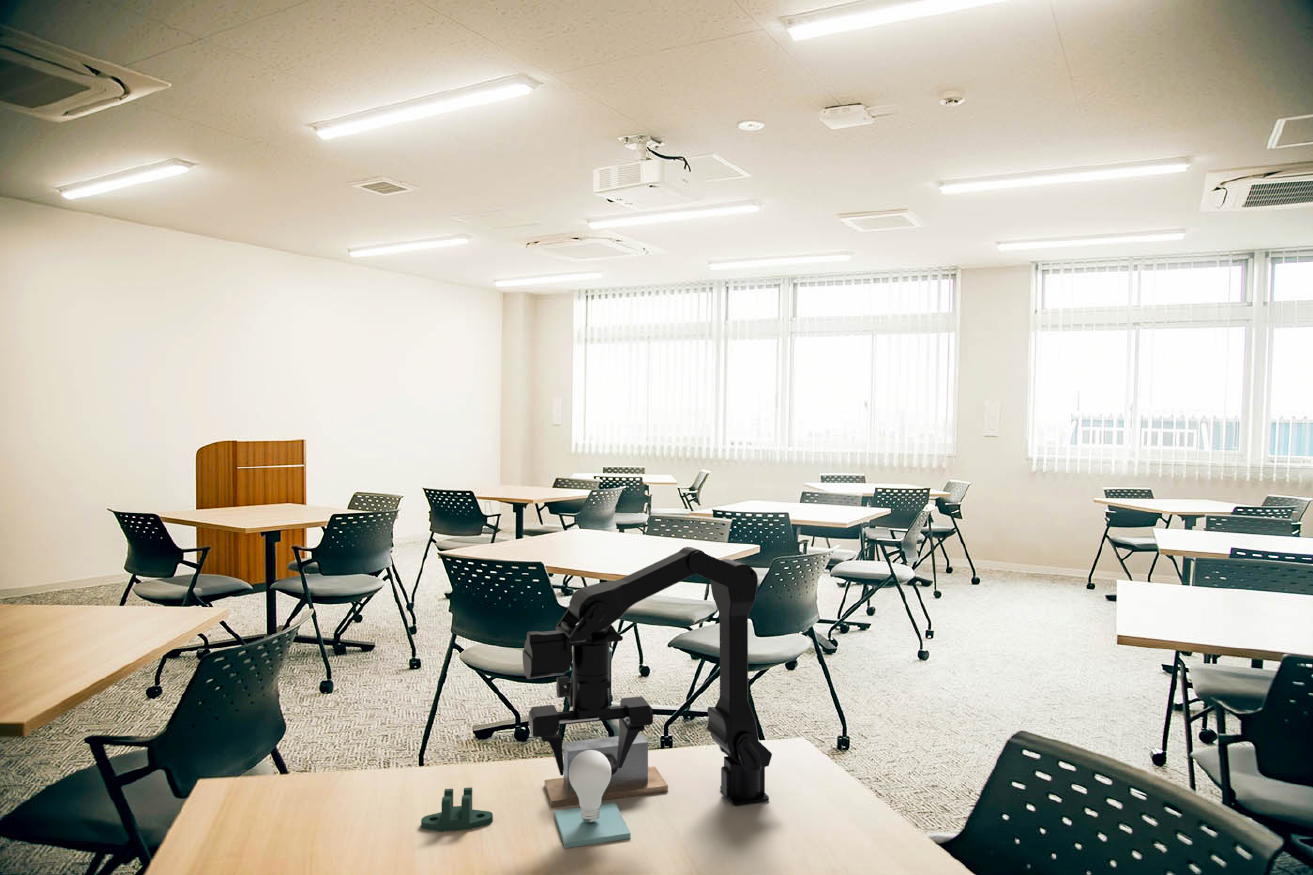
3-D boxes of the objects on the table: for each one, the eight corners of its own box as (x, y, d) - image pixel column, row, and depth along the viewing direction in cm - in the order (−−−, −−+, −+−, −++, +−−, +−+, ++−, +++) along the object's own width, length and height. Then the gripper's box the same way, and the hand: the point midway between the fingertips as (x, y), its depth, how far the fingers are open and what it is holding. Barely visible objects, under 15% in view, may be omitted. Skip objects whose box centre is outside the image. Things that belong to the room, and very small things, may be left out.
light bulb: (605, 835, 115) (605, 762, 115) (563, 831, 117) (563, 758, 117) (616, 813, 122) (615, 744, 122) (575, 810, 123) (575, 741, 123)
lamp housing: (654, 771, 139) (654, 727, 139) (667, 791, 131) (667, 744, 131) (544, 785, 133) (544, 739, 133) (551, 807, 126) (551, 758, 126)
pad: (615, 807, 126) (615, 802, 126) (630, 838, 116) (630, 832, 116) (554, 815, 123) (554, 810, 123) (564, 848, 113) (564, 842, 113)
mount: (493, 815, 123) (493, 784, 123) (491, 829, 119) (491, 797, 119) (423, 820, 122) (423, 788, 122) (418, 834, 118) (418, 802, 118)
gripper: (635, 652, 130) (635, 744, 130) (524, 660, 124) (524, 756, 124) (654, 671, 119) (653, 771, 119) (533, 682, 114) (533, 787, 114)
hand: (590, 770), depth 119 cm, fingers open, 9 cm apart
